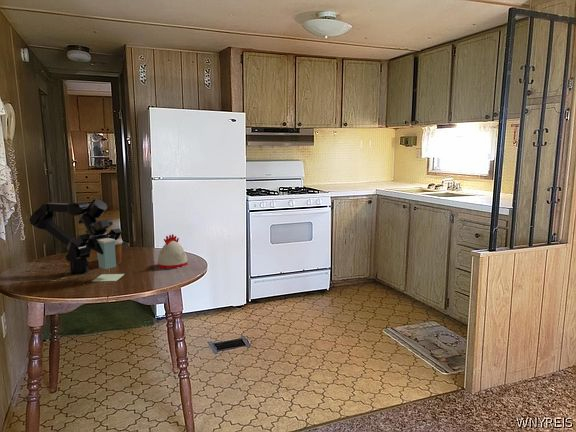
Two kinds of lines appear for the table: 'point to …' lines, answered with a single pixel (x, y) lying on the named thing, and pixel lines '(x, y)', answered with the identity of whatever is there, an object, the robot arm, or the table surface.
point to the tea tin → (107, 253)
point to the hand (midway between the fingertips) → (108, 252)
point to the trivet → (108, 277)
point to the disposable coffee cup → (118, 250)
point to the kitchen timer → (172, 254)
